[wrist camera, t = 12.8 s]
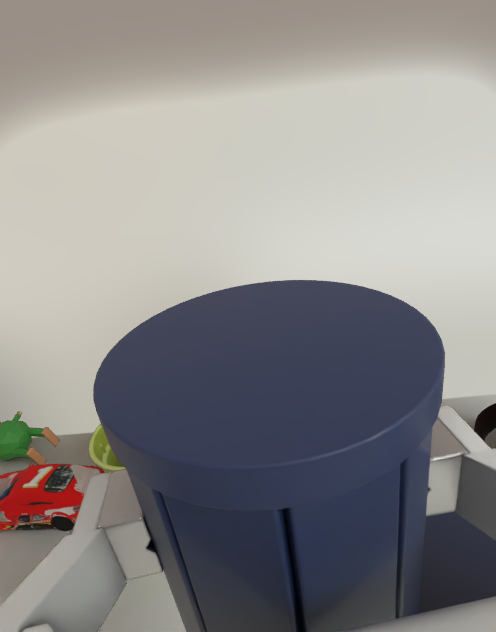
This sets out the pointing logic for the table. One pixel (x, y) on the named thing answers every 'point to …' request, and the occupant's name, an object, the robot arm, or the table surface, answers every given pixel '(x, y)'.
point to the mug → (486, 422)
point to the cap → (290, 458)
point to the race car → (43, 496)
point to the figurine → (22, 440)
